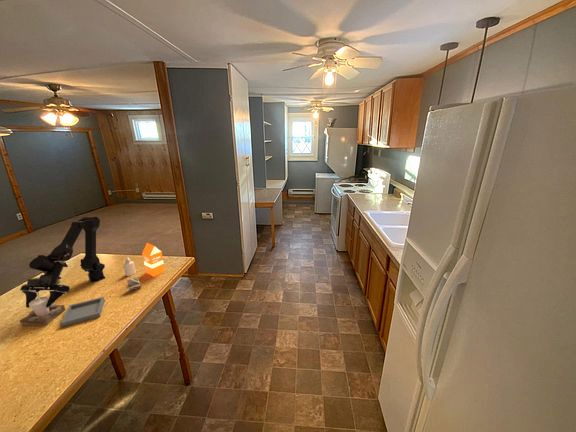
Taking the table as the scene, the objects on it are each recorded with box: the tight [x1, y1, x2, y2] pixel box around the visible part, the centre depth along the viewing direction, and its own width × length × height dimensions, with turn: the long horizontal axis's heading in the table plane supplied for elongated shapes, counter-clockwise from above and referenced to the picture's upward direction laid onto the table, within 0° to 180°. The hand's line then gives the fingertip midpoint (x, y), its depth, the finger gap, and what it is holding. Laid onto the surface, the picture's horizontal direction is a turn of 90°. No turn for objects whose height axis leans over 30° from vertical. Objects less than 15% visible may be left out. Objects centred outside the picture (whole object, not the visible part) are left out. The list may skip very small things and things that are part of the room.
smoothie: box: [29, 292, 49, 318], centre depth 111 cm, size 6×6×14 cm
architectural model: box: [125, 276, 142, 291], centre depth 133 cm, size 3×7×7 cm, turn 126°
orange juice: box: [142, 242, 166, 278], centre depth 150 cm, size 8×9×20 cm
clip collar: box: [19, 303, 66, 327], centre depth 113 cm, size 11×11×4 cm
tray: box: [60, 296, 105, 328], centre depth 116 cm, size 14×14×2 cm
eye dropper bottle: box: [123, 256, 137, 277], centre depth 148 cm, size 4×6×12 cm
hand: (37, 307), depth 110 cm, fingers open, 9 cm apart
